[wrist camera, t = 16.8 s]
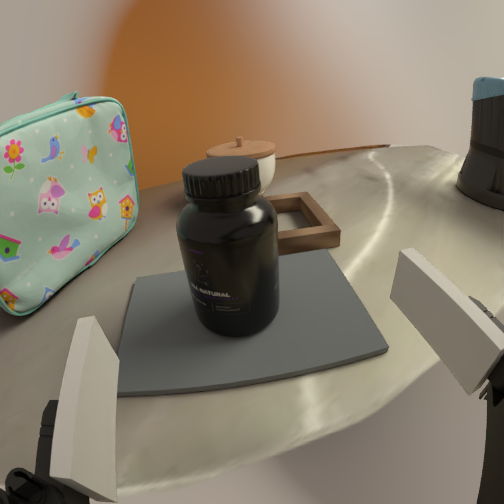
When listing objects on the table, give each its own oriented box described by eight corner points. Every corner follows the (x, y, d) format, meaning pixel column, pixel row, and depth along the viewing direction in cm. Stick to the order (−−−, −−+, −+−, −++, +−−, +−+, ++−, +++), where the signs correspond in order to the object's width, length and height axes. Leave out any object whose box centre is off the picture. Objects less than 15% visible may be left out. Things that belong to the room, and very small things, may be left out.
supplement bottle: (198, 347, 21) (155, 190, 15) (197, 290, 27) (169, 160, 21) (290, 332, 22) (286, 171, 15) (271, 279, 27) (262, 146, 21)
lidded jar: (230, 181, 55) (224, 132, 50) (286, 184, 51) (283, 131, 46) (200, 203, 47) (191, 146, 42) (264, 208, 43) (259, 144, 38)
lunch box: (111, 215, 47) (83, 94, 36) (156, 218, 44) (129, 77, 32) (-9, 312, 26) (-72, 155, 15) (22, 338, 23) (-62, 136, 11)
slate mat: (326, 253, 31) (326, 248, 31) (387, 351, 19) (388, 346, 19) (138, 282, 30) (136, 277, 29) (114, 396, 18) (110, 391, 18)
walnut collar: (307, 204, 42) (307, 191, 41) (339, 245, 32) (340, 229, 31) (223, 216, 42) (222, 202, 40) (231, 262, 31) (228, 246, 30)
